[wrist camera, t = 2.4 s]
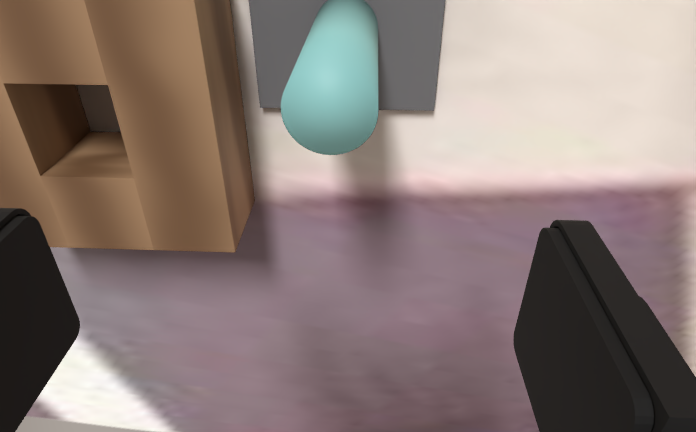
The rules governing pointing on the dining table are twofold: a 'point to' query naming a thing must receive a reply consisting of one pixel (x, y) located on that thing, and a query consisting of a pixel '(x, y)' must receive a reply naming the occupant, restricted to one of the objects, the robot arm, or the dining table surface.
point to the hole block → (125, 123)
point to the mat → (393, 48)
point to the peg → (335, 80)
